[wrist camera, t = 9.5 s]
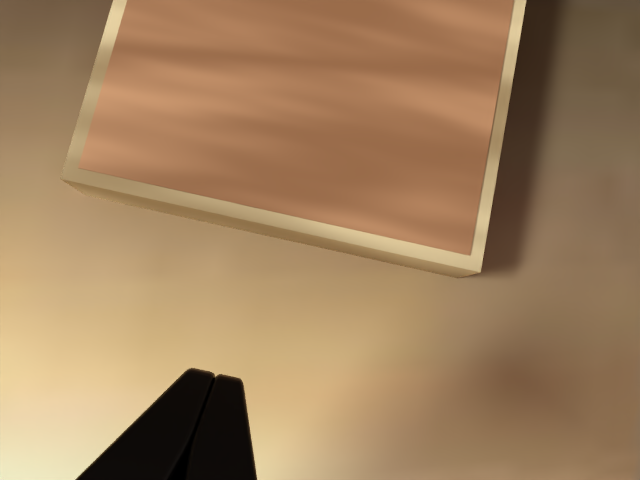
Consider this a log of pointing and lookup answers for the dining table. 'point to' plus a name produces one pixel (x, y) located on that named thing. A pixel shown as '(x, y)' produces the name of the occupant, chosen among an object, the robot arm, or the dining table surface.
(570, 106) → the dining table surface
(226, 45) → the brown tile
